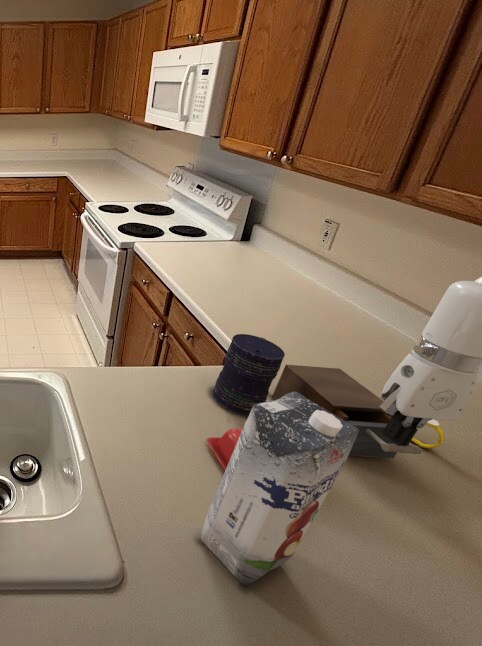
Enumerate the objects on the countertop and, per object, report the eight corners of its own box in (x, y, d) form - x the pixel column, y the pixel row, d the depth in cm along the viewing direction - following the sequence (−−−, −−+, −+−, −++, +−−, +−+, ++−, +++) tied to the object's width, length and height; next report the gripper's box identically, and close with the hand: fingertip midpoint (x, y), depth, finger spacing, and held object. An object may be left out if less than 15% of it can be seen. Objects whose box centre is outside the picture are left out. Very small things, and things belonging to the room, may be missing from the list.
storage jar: (214, 382, 100) (237, 317, 93) (261, 399, 95) (289, 332, 88) (209, 403, 92) (234, 334, 85) (260, 423, 87) (291, 352, 80)
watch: (394, 433, 88) (407, 411, 86) (400, 430, 89) (413, 408, 87) (431, 454, 83) (446, 431, 81) (437, 450, 84) (452, 428, 82)
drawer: (418, 480, 75) (438, 449, 72) (358, 475, 75) (376, 445, 72) (341, 413, 91) (355, 386, 89) (291, 409, 91) (303, 382, 88)
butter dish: (233, 492, 70) (250, 455, 67) (201, 441, 81) (214, 407, 78) (300, 498, 70) (319, 461, 67) (259, 446, 81) (274, 412, 78)
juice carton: (189, 536, 62) (248, 393, 52) (234, 514, 66) (297, 377, 56) (245, 598, 55) (326, 444, 45) (292, 568, 59) (375, 421, 49)
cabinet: (375, 445, 84) (396, 410, 81) (315, 441, 84) (333, 405, 80) (324, 400, 97) (339, 368, 93) (271, 396, 96) (285, 364, 93)
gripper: (425, 364, 64) (372, 452, 71) (518, 372, 64) (456, 459, 71) (382, 338, 71) (337, 421, 78) (465, 345, 71) (414, 427, 78)
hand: (394, 439), depth 74 cm, fingers closed
